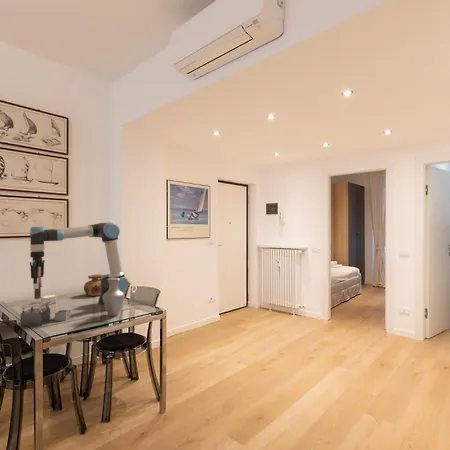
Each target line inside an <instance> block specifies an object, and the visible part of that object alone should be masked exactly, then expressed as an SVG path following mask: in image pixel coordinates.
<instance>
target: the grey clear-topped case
mask: <svg viewBox="0 0 450 450" xmlns="http://www.w3.org/2000/svg"><path fill="white" fill-rule="evenodd" d="M49 303H50V301H41V300H39V301H38V300H37V301H30V302H27V303H24V304H22V305H20V309H21V313H20V327H22V328H23V327H42V326H43V325H45V324H47V323H49V322H50V321H51V313H50V308H49ZM45 305H47V308H41V307H43V306H45ZM26 308H27V310H26V311H25V309H26ZM28 308H29V309H28ZM33 310H39V311H38V312H31V311H33Z"/></svg>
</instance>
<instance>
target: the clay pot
mask: <svg viewBox="0 0 450 450" xmlns="http://www.w3.org/2000/svg"><path fill="white" fill-rule="evenodd" d="M101 275H102V274H100V273H99V274H90V275H87V276H88V279H89V280H88V281H87V282H85V283H84V285H83V291H84V293H85V294H86V295H88V296H90V297H97V296H98V295H99V296H100V294H101V280H100V279H101Z"/></svg>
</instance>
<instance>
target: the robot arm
mask: <svg viewBox="0 0 450 450" xmlns="http://www.w3.org/2000/svg"><path fill="white" fill-rule="evenodd" d="M44 227H45V226H31V227H30V231H29V232H30V233H29V236H30V237H29V239H30V245H29V247H30V258H32V261H30V262H29V265H30V279H32V280H33V281H32V283H33V284H32V285H33V288H32V289H33V290H34V289H38V267H41V288H42V287H43V286H42V285H43V280H42V279H43V278H44V275H45V274H44V273H45V260H44V259H43V258H44V257H45V242H60V241H63V240H66V239H74V238H85V237H86V238H87V237H89V238H99V239H101V242H102V243H103V244H104V246H105V252H106V257H107V264H108V269H109V273H108V274H107V273H106V274H100V275H101V279H100V278H99V279H100V280H101V294H100V295H99V298H98V303H97V304H98V305H101V306H102V305H103V306H105V305H104V302H103V295H104V294H105V293H106V292H107V291H108V290H109V282H108V280H107V279H109V278H120V280H119V282H118V288H119V290H120V291H121V292H123V293H124V292H125V291H126V290H127V289H128V287H129V279H128V278H127V277H125V275H126V274H125V272H123V270H122V265H121V260H120V253H119V247H118V240H119V235H120V232H121V231H120V228H119V225H117V224H116V223H114V222H109V221H108V222H98V223H94V224H88V225H87V226H77V227H65V228H64V227H61V228H53V229H52V228H51V229H50V228H49V229H47V228H46V229H45V228H44Z"/></svg>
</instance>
